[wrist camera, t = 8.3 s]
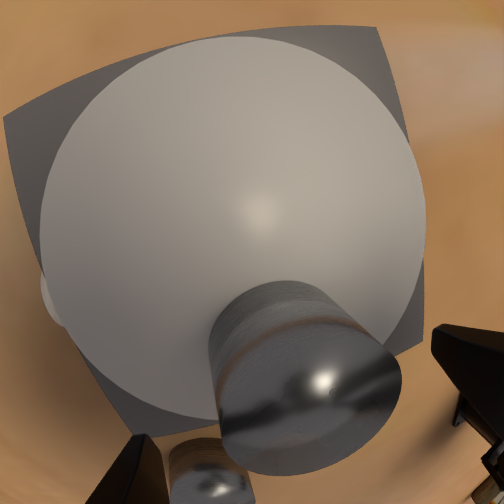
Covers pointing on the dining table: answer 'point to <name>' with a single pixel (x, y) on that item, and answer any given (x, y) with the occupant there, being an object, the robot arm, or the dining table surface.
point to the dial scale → (218, 202)
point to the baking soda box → (498, 499)
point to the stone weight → (486, 492)
